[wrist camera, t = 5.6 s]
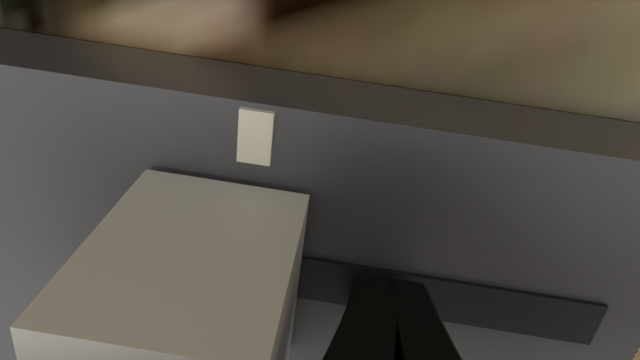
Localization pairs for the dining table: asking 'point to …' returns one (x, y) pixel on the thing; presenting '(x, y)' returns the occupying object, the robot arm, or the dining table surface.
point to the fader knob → (176, 277)
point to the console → (337, 189)
